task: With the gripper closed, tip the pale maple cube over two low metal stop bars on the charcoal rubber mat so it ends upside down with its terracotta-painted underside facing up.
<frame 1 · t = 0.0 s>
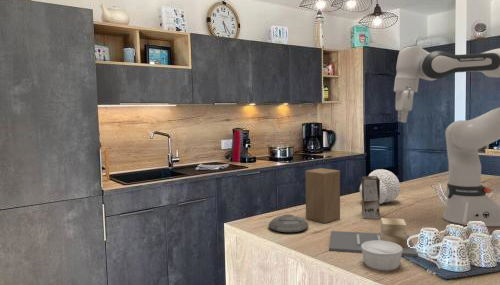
hand: (401, 122, 153), 39 cm above the counter, fingers open, 8 cm apart
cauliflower: (380, 203, 181), on the counter
rubber mat: (370, 243, 126), on the counter
maple cube: (393, 242, 124), point 1 cm above the counter, touching rubber mat
ramekin: (381, 265, 109), on the counter
flying saucer: (288, 229, 144), on the counter
coffee box: (370, 216, 159), on the counter
wooden block: (322, 219, 156), on the counter
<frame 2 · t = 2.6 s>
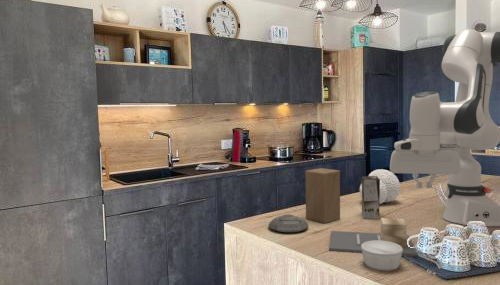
hand: (423, 187, 120), 19 cm above the counter, fingers closed
nothing on the counter moved.
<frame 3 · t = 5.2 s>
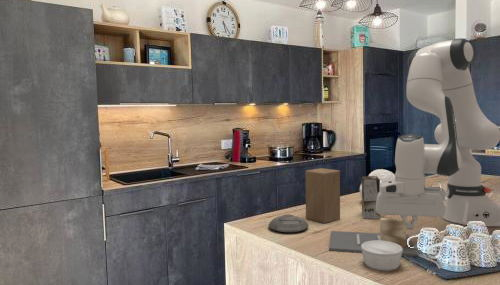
hand: (409, 228, 122), 6 cm above the counter, fingers closed
maple cube: (392, 242, 124), point 1 cm above the counter, touching gripper, rubber mat
everything else where it was.
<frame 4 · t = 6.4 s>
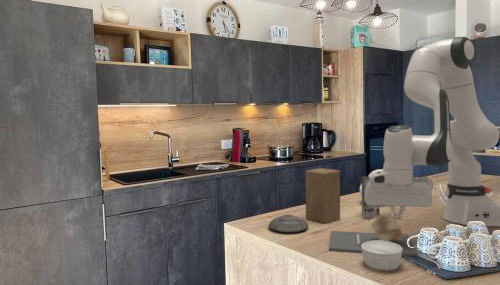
hand: (397, 219, 123), 9 cm above the counter, fingers closed
maple cube: (391, 236, 124), point 3 cm above the counter, tilted 31°, touching gripper, rubber mat
everything else where it was.
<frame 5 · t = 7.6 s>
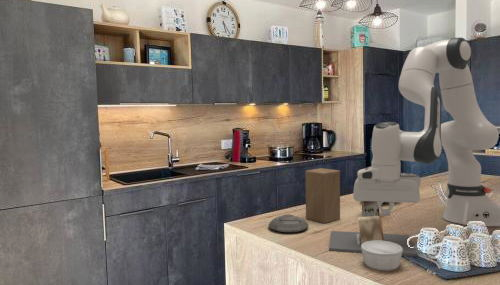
hand: (385, 215, 124), 10 cm above the counter, fingers closed
maple cube: (381, 229, 124), point 5 cm above the counter, tilted 96°, touching rubber mat
everything else where it was.
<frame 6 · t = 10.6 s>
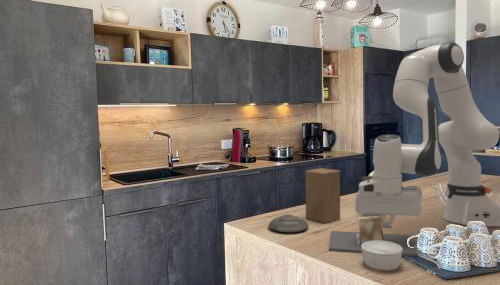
hand: (386, 227, 124), 6 cm above the counter, fingers closed
maple cube: (381, 229, 124), point 5 cm above the counter, tilted 96°, touching gripper, rubber mat
everything else where it was.
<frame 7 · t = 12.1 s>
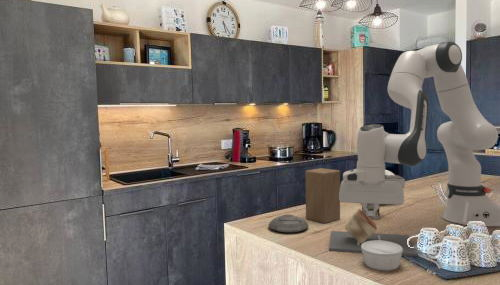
hand: (370, 216, 125), 9 cm above the counter, fingers closed
maple cube: (367, 218, 125), point 8 cm above the counter, tilted 138°, touching gripper, rubber mat
everything else where it was.
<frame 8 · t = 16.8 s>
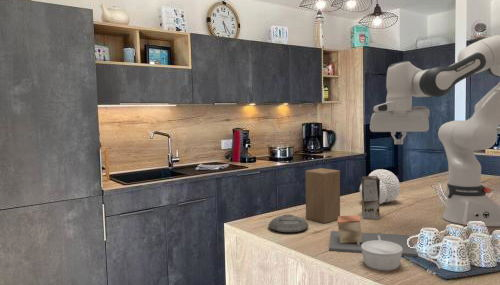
hand: (398, 144, 141), 31 cm above the counter, fingers closed
maple cube: (348, 218, 127), point 8 cm above the counter, tilted 174°, touching rubber mat
everything else where it was.
at the end: maple cube tilted 174°; maple cube inside the target area (0.5 cm from its centre), point 8.1 cm above the counter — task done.
